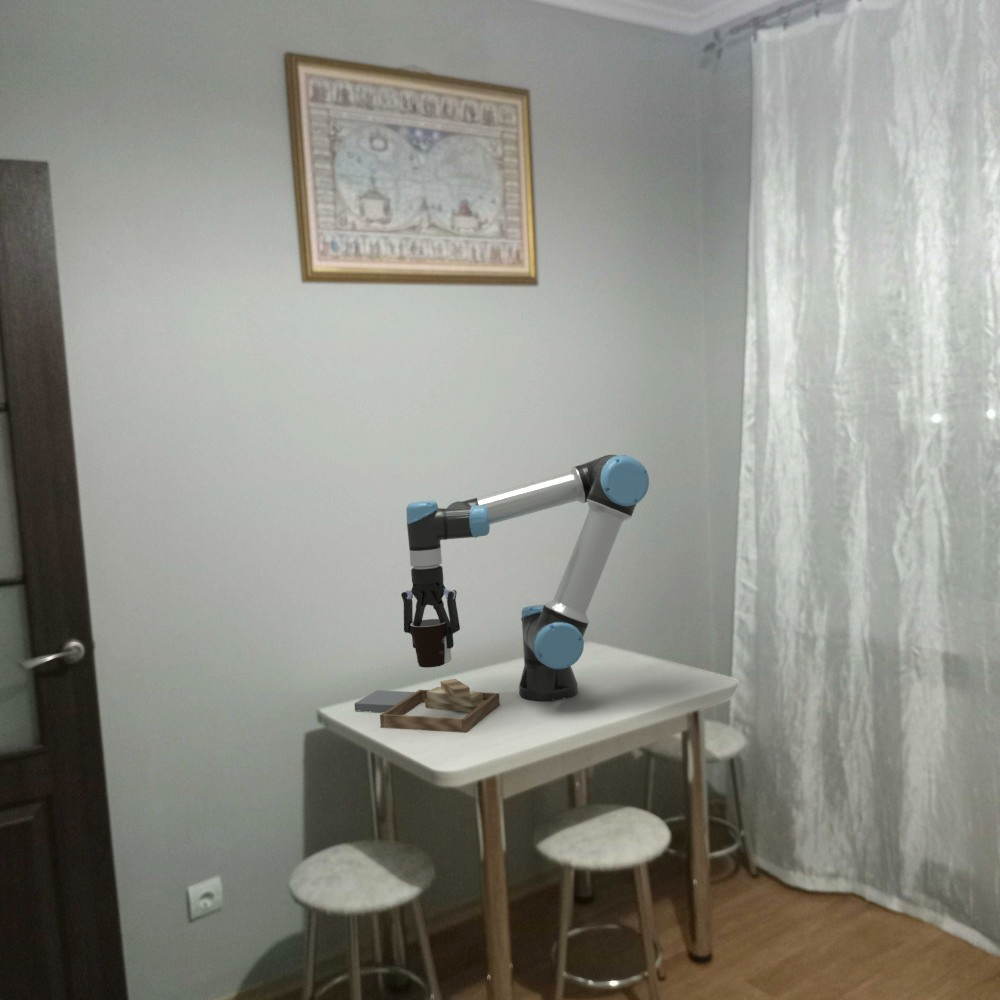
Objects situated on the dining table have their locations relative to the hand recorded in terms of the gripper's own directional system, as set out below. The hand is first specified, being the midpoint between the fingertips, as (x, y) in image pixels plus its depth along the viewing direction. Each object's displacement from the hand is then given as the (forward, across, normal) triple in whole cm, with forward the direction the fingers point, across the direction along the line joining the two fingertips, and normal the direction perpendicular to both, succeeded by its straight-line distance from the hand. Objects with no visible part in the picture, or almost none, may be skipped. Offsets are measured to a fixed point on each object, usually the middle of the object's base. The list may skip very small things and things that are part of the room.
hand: (434, 661), depth 236 cm
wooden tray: (+14, 0, -3) cm, 15 cm away
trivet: (+14, +18, -9) cm, 25 cm away
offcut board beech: (+10, -1, -9) cm, 14 cm away
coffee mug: (+1, 0, 0) cm, 1 cm away
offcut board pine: (+13, 0, -9) cm, 16 cm away
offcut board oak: (+15, -1, -10) cm, 18 cm away
